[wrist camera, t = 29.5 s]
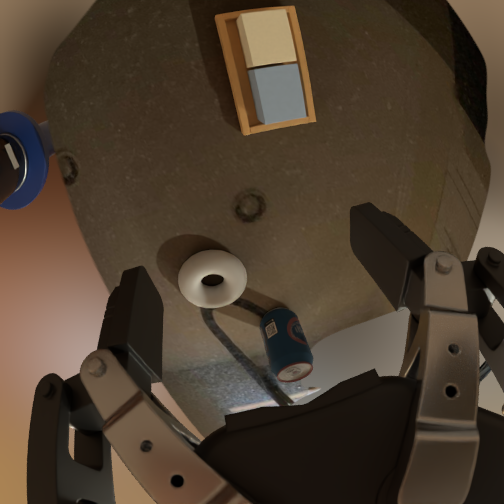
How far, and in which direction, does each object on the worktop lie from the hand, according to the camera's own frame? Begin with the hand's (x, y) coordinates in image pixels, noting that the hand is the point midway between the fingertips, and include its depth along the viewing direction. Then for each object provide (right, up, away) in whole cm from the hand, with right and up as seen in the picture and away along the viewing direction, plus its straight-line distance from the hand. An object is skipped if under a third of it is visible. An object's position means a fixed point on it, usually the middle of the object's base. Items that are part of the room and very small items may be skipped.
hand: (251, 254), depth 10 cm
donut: (-6, -3, +31) cm, 32 cm away
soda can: (+4, -12, +40) cm, 42 cm away
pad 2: (+2, +18, +18) cm, 25 cm away
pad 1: (+1, +23, +14) cm, 27 cm away
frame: (+2, +21, +16) cm, 26 cm away
